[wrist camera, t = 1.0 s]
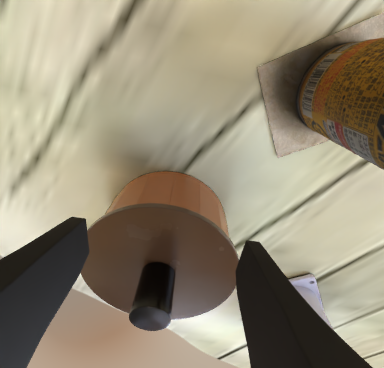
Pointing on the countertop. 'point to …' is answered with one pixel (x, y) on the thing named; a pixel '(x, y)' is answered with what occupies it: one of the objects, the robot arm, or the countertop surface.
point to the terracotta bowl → (173, 195)
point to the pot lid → (159, 263)
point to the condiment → (330, 93)
